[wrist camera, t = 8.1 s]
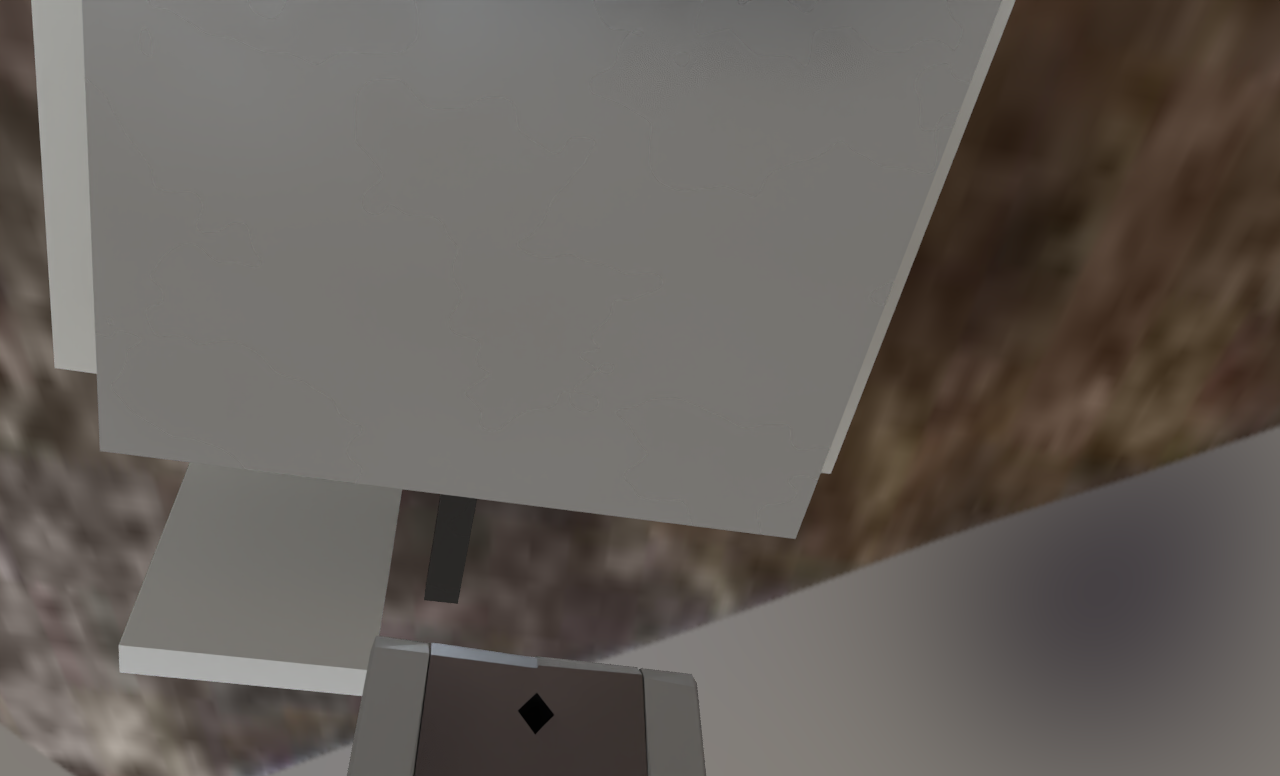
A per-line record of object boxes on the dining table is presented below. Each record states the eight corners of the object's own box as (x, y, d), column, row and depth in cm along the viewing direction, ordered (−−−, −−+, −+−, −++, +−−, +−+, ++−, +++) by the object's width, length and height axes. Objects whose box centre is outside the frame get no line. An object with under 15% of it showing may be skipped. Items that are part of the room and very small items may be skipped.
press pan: (969, -217, 22) (1063, -159, 18) (710, 556, 33) (732, 702, 29) (166, -411, 20) (65, -397, 16) (167, 489, 30) (107, 639, 26)
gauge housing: (1138, -374, 23) (1414, -329, 16) (806, 497, 35) (874, 755, 28) (11, -682, 20) (-315, -811, 12) (71, 399, 32) (-76, 663, 24)
